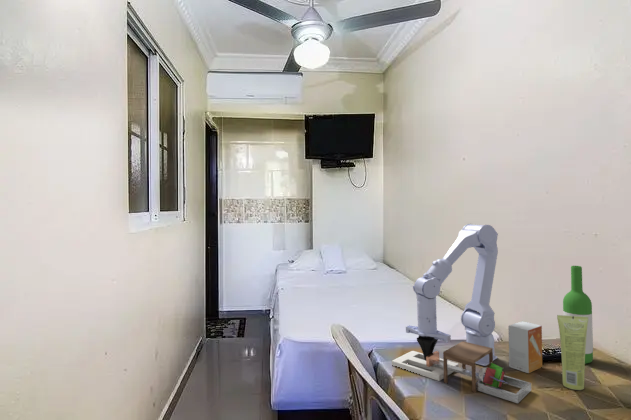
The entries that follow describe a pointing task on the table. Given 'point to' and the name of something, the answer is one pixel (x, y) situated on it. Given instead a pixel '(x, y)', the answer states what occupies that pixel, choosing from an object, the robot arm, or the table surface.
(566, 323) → the tube
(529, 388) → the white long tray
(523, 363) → the small box
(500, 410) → the table surface
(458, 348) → the brown wooden stool
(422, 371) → the pit board
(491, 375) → the geometric puzzle
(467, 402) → the table surface
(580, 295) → the wine bottle
